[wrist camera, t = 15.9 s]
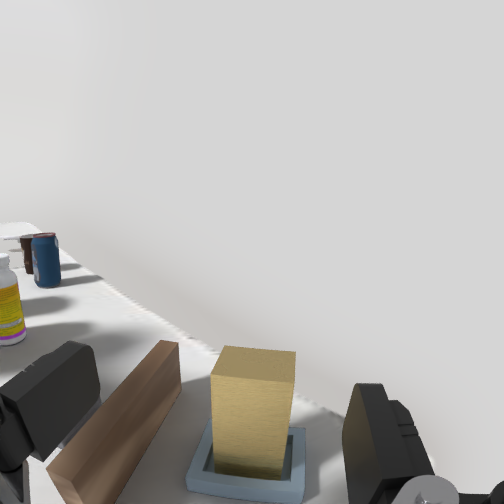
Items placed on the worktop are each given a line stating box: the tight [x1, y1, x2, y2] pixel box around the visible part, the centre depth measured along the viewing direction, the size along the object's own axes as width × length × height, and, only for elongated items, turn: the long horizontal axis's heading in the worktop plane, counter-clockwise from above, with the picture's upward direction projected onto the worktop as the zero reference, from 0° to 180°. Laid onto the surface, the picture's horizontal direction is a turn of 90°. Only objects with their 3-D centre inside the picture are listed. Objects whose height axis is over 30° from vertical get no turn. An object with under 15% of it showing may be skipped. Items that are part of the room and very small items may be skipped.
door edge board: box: [46, 340, 182, 504], centre depth 23 cm, size 2×20×6 cm, turn 172°
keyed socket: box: [185, 419, 305, 504], centre depth 22 cm, size 8×8×2 cm
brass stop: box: [211, 346, 296, 481], centre depth 21 cm, size 5×4×10 cm
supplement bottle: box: [0, 253, 26, 345], centre depth 36 cm, size 7×7×13 cm
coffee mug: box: [20, 234, 34, 274], centre depth 75 cm, size 12×9×10 cm
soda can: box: [31, 233, 61, 288], centre depth 63 cm, size 7×7×12 cm
